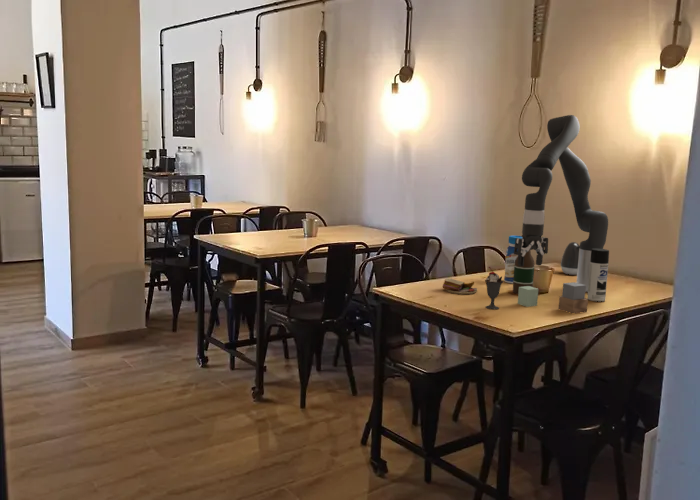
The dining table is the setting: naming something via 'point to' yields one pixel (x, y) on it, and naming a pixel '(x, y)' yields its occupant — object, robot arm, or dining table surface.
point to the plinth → (573, 305)
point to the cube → (573, 291)
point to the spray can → (598, 274)
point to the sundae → (493, 288)
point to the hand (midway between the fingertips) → (529, 265)
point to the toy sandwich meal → (458, 287)
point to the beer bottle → (523, 272)
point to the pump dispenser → (570, 259)
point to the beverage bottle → (510, 260)
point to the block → (528, 296)
